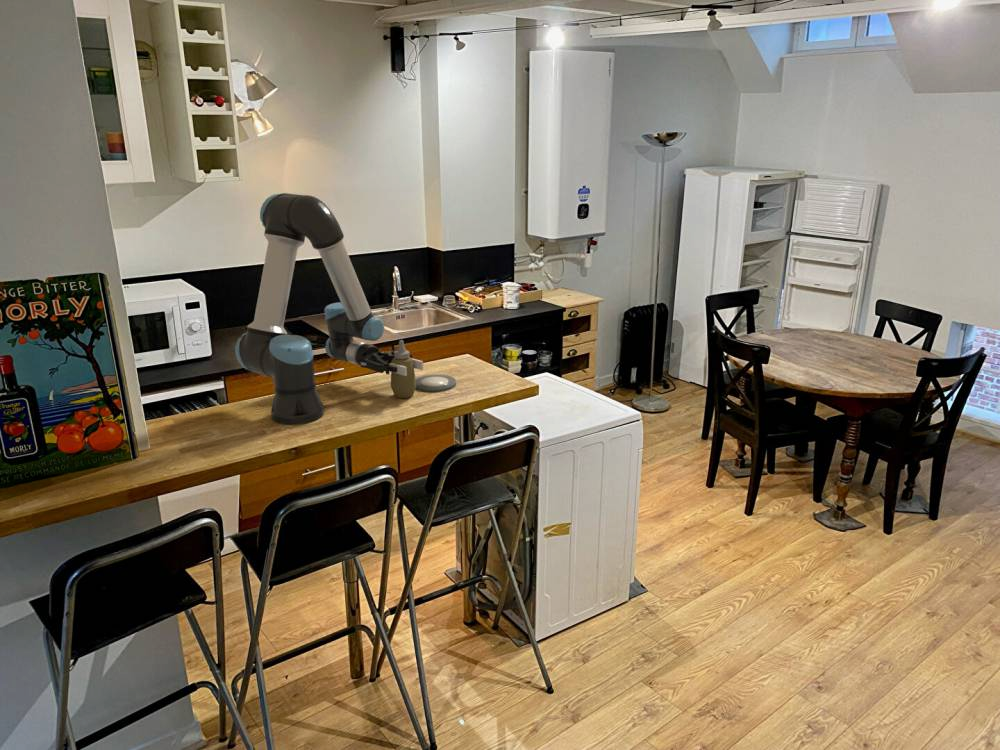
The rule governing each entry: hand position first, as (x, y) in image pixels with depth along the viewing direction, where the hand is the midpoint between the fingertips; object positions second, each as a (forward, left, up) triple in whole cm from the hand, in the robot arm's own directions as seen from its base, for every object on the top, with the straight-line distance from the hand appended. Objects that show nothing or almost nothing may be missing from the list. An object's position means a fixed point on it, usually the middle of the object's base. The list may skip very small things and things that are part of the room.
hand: (414, 368), depth 232 cm
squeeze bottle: (-5, +1, -10) cm, 11 cm away
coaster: (-1, +14, -10) cm, 18 cm away
